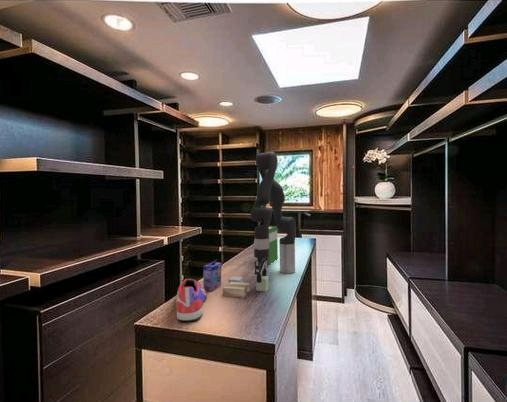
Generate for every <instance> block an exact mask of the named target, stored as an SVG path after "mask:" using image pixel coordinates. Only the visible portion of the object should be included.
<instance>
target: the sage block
mask: <svg viewBox="0 0 507 402" xmlns="http://www.w3.org/2000/svg"><path fill="white" fill-rule="evenodd" d="M255 283H256V284H255V286H256V287H255V288H256V291H258V292H268V290H270V289H269V288H270V277H269V275H267V276H262V275H261V283H257V277H256V280H255Z"/></svg>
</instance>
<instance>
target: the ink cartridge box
mask: <svg viewBox="0 0 507 402" xmlns="http://www.w3.org/2000/svg"><path fill="white" fill-rule="evenodd" d="M217 261H218V260H217V259H214V260H213V261H212V262H209V263H207V264H206V265H203V277H202V278H203V281H202V282H203V284H202V286H203V288H204V289H205V291H206V292H207V291H209V292H213V291H216V290H217V289H218V288H221V286H222V262H217Z"/></svg>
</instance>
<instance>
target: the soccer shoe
mask: <svg viewBox="0 0 507 402" xmlns="http://www.w3.org/2000/svg"><path fill="white" fill-rule="evenodd" d="M207 296H208V294H207V290H205V289H204V288H203V284H202V283H200V282H199V281H198V280H196V279H193V278H186V279H184V280H182V281H181V282H180V285H179V286H178V289H177V293H176V300H175V301H176V302H175V306H176V307H175V308H176V318H177V320H178V322H190V321H191V322H194V321H199V320H200V317H202V315H203V305H204V302H205V300H207Z"/></svg>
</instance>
